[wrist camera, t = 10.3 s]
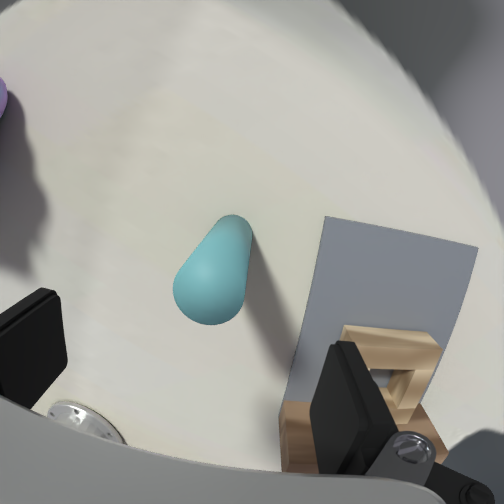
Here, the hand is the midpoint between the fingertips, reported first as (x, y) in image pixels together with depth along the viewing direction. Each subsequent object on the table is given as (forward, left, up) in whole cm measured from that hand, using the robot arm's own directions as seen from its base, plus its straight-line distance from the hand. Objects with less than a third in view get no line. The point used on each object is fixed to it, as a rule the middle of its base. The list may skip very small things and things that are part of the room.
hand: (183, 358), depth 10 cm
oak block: (-12, -17, -20) cm, 29 cm away
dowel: (0, 0, -20) cm, 20 cm away
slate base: (-9, -17, -20) cm, 28 cm away
